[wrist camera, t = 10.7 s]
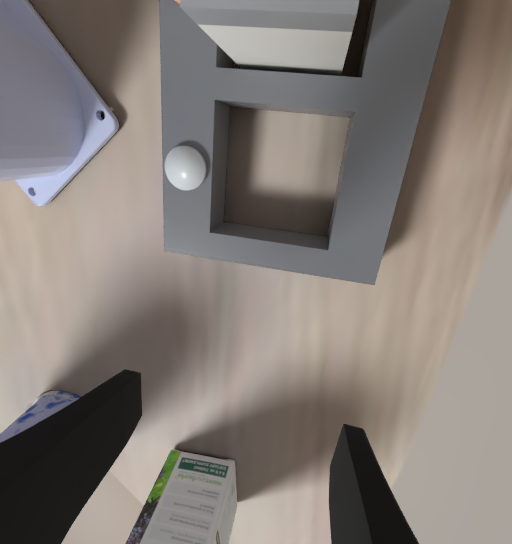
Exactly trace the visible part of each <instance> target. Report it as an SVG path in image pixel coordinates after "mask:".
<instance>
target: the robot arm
mask: <svg viewBox="0 0 512 544" xmlns="http://www.w3.org/2000/svg"><path fill="white" fill-rule="evenodd" d="M102 111H103V112H104V114H105V118H104V120H103V119H102V118H101V112H102ZM118 129H119V122H118V120H117V118H116V116H115V115H114V114H113V113H112V111H111V110H110V109H109V107H108V106H107V105H106V103H105V102H104V101H103V99H102V98H101V97H100V95H99V94H98V93H97V91H96V90H95V89H94V87H93V86H92V85H91V83H90V82H89V81H88V79H87V78H86V77H85V75H84V74H83V73H82V71H81V70H80V69H79V67H78V66H77V65H76V64H75V62H74V61H73V60H72V58H71V57H70V56H69V54H68V53H67V52H66V50H65V49H64V48H63V46H62V45H61V44H60V42H59V41H58V40H57V38H56V37H55V36H54V34H53V33H52V32H51V30H50V29H49V28H48V26H47V25H46V24H45V22H44V21H43V20H42V18H41V17H40V16H39V15H38V13H37V12H36V11H35V9H34V8H33V7H32V5H31V4H30V3H29V1H28V0H0V182H2V181H12V180H15V181H16V183H17V184H18V185H19V186H20V187H21V188H22V189H23V191H24V192H25V193H26V194H27V195H28V196H29V198H30V199H31V200H32V201H33V202H34V203H35V204H36V205H37V206H46V205H48V204H49V203H50V202H51V201H52V200H53V198H54V197H55V196H56V195H57V194H58V193H59V192H60V191H61V190H62V189H63V188H64V187H65V186H66V185H67V184H68V183H69V182H70V181H71V180H72V178H73V177H74V176H75V175H76V174H77V173H78V172H79V171H80V170H81V169H82V168H83V167H84V166H85V165H86V164H87V163H88V162H89V161H90V159H91V158H92V157H93V156H94V155H95V154H96V153H97V152H98V151H99V150H100V149H101V148H102V147H103V146H104V145H105V144H106V143H107V142H108V141H109V139H110V138H111V137H112V136H113V135H114V134H115V133H116V132H117V131H118ZM34 190H35V191H36V194H35V192H34ZM141 416H142V400H141V373H138V372H134V371H130V370H126V369H125V370H123V371H122V372H120V373H119V374H117V375H115V376H114V377H112V378H111V379H109V380H107V381H106V382H104V383H103V384H101V385H100V386H98V387H96V388H95V389H93V390H92V391H90V392H89V393H87V394H85V395H84V396H82V397H81V398H79V399H77V400H76V401H74V402H72V403H71V404H69V405H68V406H66V407H64V408H63V409H61V410H59V411H58V412H56V413H54V414H52V415H51V416H49V417H47V418H45V419H44V420H42V421H40V422H38V423H37V424H35V425H33V426H31V427H30V428H28V429H26V430H24V431H22V432H20V433H18V434H16V435H14V436H13V437H11V438H9V439H7V440H5V441H3V442H1V443H0V544H61V543H62V541H63V539H64V538H65V536H66V534H67V532H68V531H69V529H70V527H71V525H72V524H73V522H74V521H75V519H76V517H77V516H78V515H79V513H80V511H81V510H82V508H83V507H84V505H85V504H86V503H87V501H88V499H89V498H90V497H91V495H92V494H93V492H94V491H95V489H96V488H97V487H98V485H99V484H100V482H101V481H102V479H103V478H104V476H105V475H106V474H107V472H108V471H109V469H110V468H111V466H112V465H113V463H114V462H115V460H116V459H117V457H118V456H119V454H120V453H121V452H122V450H123V449H124V447H125V446H126V444H127V442H128V440H129V439H130V437H131V435H132V433H133V431H134V430H135V428H136V426H137V424H138V422H139V420H140V418H141ZM329 510H330V526H331V541H332V544H419V543H418V541H417V539H416V537H415V535H414V534H413V532H412V530H411V528H410V527H409V525H408V523H407V521H406V519H405V517H404V515H403V513H402V511H401V509H400V507H399V505H398V503H397V501H396V499H395V498H394V495H393V493H392V491H391V489H390V487H389V485H388V483H387V481H386V479H385V477H384V475H383V473H382V470H381V468H380V466H379V464H378V462H377V459H376V457H375V455H374V453H373V450H372V448H371V446H370V443H369V441H368V438H367V436H366V433H365V431H364V430H363V429H362V428H358V427H354V426H350V425H346V424H343V427H342V430H341V434H340V437H339V440H338V443H337V446H336V449H335V452H334V455H333V458H332V461H331V465H330V481H329Z"/></svg>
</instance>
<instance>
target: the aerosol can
mask: <svg viewBox="0 0 512 544" xmlns="http://www.w3.org/2000/svg"><path fill="white" fill-rule="evenodd" d="M79 398H81V397H79V396H77V395H75V394H71V393H68V392H64V391H49V392H47V393H44V394H42V395H41V396H39V397H38V398H37V399H36V400H35V402H34V403H33V404H32V406H31V407H30V408H29V409H28V410H27V411H26V412H25V413H24V414H22V415H21V416H20V417H19V418H18V419H17V420H16V421H14V422H13V423H12V424H11V425H10V426H9V427H8V428H7V429H5V430H4V431H3V432H2V433H1V434H0V443H1V442H3V441H5V440H7V439H9V438H11V437H13V436H14V435H16V434H18V433H20V432H22V431H24V430H26V429H28V428H30V427H31V426H33V425H35V424H37V423H38V422H40V421H42V420H44V419H45V418H47V417H49V416H51V415H52V414H54V413H56V412H58V411H59V410H61V409H63V408H64V407H66V406H68V405H69V404H71V403H72V402H74V401H76V400H77V399H79Z"/></svg>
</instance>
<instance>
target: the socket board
mask: <svg viewBox="0 0 512 544" xmlns="http://www.w3.org/2000/svg"><path fill="white" fill-rule="evenodd" d="M450 3H451V0H373V1H372V6H371V11H370V17H369V22H368V27H367V32H366V38H365V43H364V48H363V53H362V58H361V64H360V69H359V74H358V77H346V76H332V75H318V74H303V73H289V72H275V71H260V70H246V69H232V66H233V59H232V58H231V57H229V56H228V55H227V54H226V53H225V52H224V51H223V50H222V49H221V48H220V47H219V46H218V45H217V44H216V43H215V42H214V41H213V40H212V39H211V38H210V37H209V36H208V35H207V34H206V33H205V32H204V31H203V30H202V29H201V28H200V27H199V26H198V25H197V24H196V23H195V22H194V21H193V20H192V19H191V18H190V17H189V16H188V15H187V14H186V13H185V12H184V11H183V10H182V9H181V8H180V0H159V4H160V55H161V105H162V155H163V205H164V251H168V252H174V253H180V254H186V255H192V256H198V257H205V258H211V259H217V260H223V261H229V262H235V263H241V264H248V265H254V266H260V267H266V268H272V269H278V270H284V271H291V272H297V273H303V274H309V275H315V276H321V277H327V278H333V279H340V280H346V281H352V282H358V283H364V284H370V285H375V281H376V277H377V274H378V270H379V266H380V263H381V259H382V255H383V251H384V248H385V244H386V240H387V237H388V233H389V229H390V225H391V222H392V218H393V214H394V211H395V207H396V203H397V199H398V196H399V192H400V188H401V185H402V181H403V177H404V173H405V170H406V166H407V162H408V159H409V155H410V151H411V147H412V144H413V140H414V136H415V133H416V129H417V125H418V121H419V118H420V114H421V110H422V107H423V103H424V99H425V95H426V92H427V88H428V84H429V81H430V77H431V73H432V69H433V66H434V62H435V58H436V55H437V51H438V47H439V43H440V40H441V36H442V32H443V29H444V25H445V21H446V17H447V14H448V10H449V6H450ZM230 107H240V108H251V109H262V110H274V111H285V112H296V113H308V114H319V115H330V116H342V117H350V121H349V126H348V132H347V137H346V142H345V147H344V152H343V158H342V163H341V168H340V173H339V179H338V184H337V189H336V194H335V199H334V205H333V210H332V215H331V220H330V226H329V231H328V236H327V237H324V236H318V235H311V234H304V233H297V232H290V231H283V230H276V229H269V228H262V227H255V226H248V225H241V224H234V223H227V222H224V208H225V190H226V173H227V155H228V137H229V119H230Z"/></svg>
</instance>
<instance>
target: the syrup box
mask: <svg viewBox="0 0 512 544" xmlns="http://www.w3.org/2000/svg"><path fill="white" fill-rule="evenodd" d="M236 509H237V488H236V469H235V460H232V459H227V460H223V459H218V458H213V457H208V456H203V455H197V454H192V453H187V452H182V451H179V450H171V452H170V453H169V455H168V457H167V460H166V462H165V464H164V466H163V468H162V470H161V472H160V474H159V476H158V478H157V480H156V482H155V484H154V486H153V489H152V491H151V492H150V495H149V497H148V499H147V501H146V503H145V505H144V507H143V509H142V511H141V513H140V515H139V518H138V520H137V522H136V523H135V526H134V527H133V529H132V532H131V534H130V536H129V538H128V540H127V542H126V544H229V539H230V535H231V531H232V526H233V522H234V517H235V513H236Z"/></svg>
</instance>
